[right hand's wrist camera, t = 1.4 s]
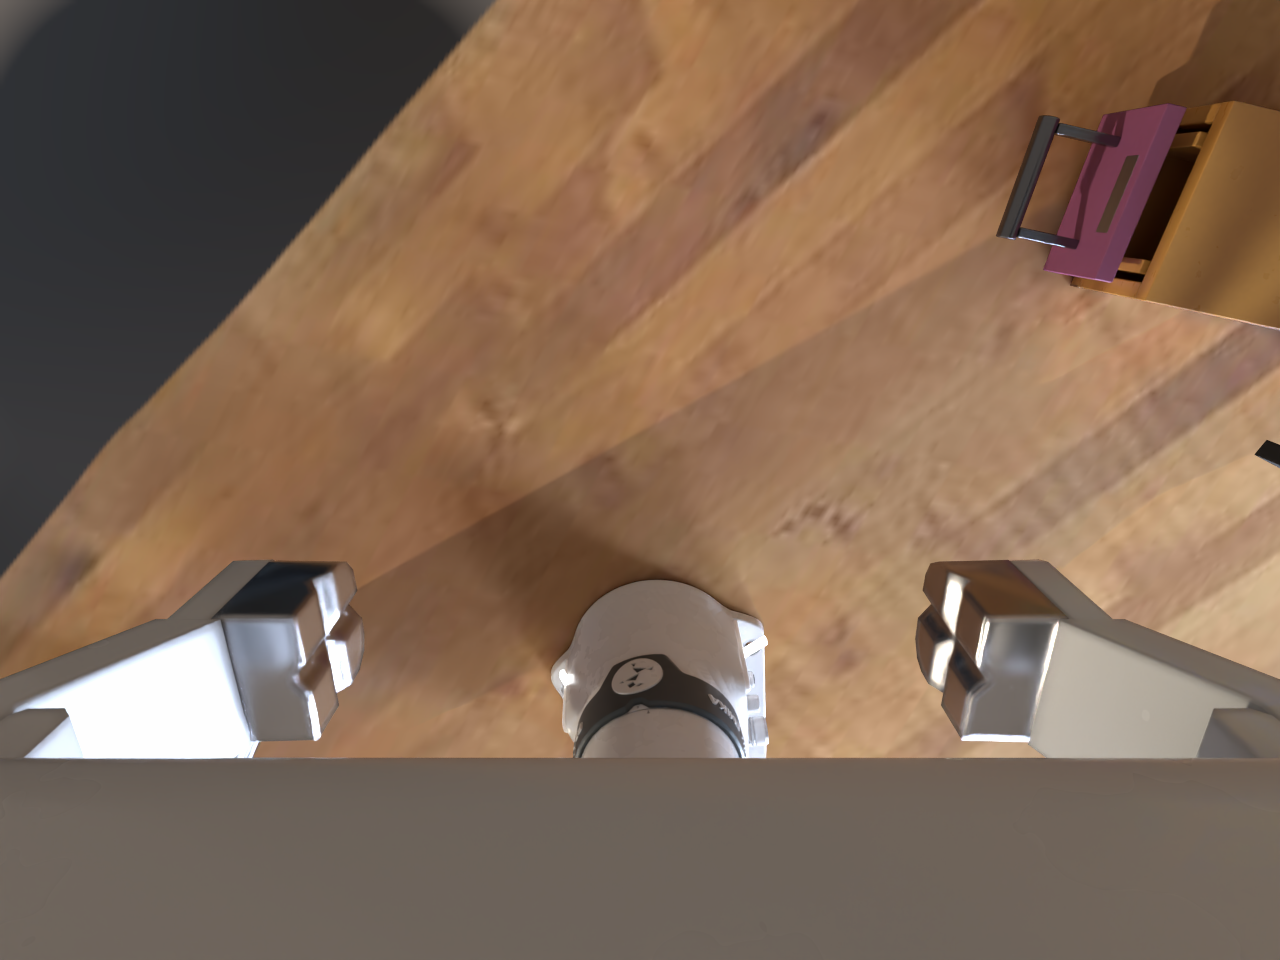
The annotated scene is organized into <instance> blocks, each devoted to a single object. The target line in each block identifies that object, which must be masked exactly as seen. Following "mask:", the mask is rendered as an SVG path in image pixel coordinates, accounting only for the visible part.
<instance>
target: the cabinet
mask: <svg viewBox="0 0 1280 960" xmlns="http://www.w3.org/2000/svg"><path fill="white" fill-rule="evenodd" d="M1200 131H1202V132H1207V133H1208V134H1207V137H1206V139H1205V141H1204V143H1203V146H1202V148H1201V150H1200V152H1199V155H1198V157H1197V159H1196V162H1195V164H1194V166H1193V168H1192V171H1191V173H1190V175H1189V177H1188V180H1187V182H1186V184H1185V186H1184V189H1183V191H1182V193H1181V195H1180V198H1179V200H1178V202H1177V205H1176V207H1175V209H1174V211H1173V214H1172V216H1171V218H1170V220H1169V223H1168V225H1167V227H1166V229H1165V232H1164V234H1163V236H1162V238H1161V241H1160V243H1159V245H1158V247H1157V250H1156V252H1155V254H1154V257H1153V259H1152V261H1151V263H1150V266H1149V268H1148V270H1147V272H1146V275H1145V277H1141V276H1137V275H1132V274H1128V273H1123V272H1118V271H1117V273H1116V275H1115V277H1114V280H1113V282H1112V283H1109V282H1103V281H1098V280H1092V279H1087V278H1081V277H1076V276H1074V278H1073V281H1072V283H1071V284H1070V286H1075V287H1079V288H1084V289H1089V290H1093V291H1098V292H1103V293H1107V294H1112V295H1117V296H1122V297H1126V298H1131V299H1136V300H1140V301H1145V302H1150V303H1154V304H1159V305H1164V306H1169V307H1173V308H1178V309H1183V310H1187V311H1192V312H1197V313H1202V314H1206V315H1211V316H1216V317H1220V318H1225V319H1230V320H1234V321H1239V322H1244V323H1249V324H1253V325H1258V326H1263V327H1267V328H1272V329H1277V330H1280V111H1278V110H1274V109H1270V108H1266V107H1261V106H1257V105H1253V104H1249V103H1244V102H1240V101H1236V100H1234V101H1228V102H1222V103H1216V104H1210V105H1204V106H1198V107H1192V108H1187V109H1186V111H1185V114H1184V116H1183V118H1182V121H1181V123H1180V125H1179V128H1178V130H1177V132H1176V134H1183V133H1191V132H1200Z"/></svg>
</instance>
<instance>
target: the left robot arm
mask: <svg viewBox="0 0 1280 960" xmlns="http://www.w3.org/2000/svg"><path fill="white" fill-rule="evenodd" d="M1255 455H1256V456H1258V457H1260V458H1262V459H1264V460H1265V461H1267V462H1269V463H1271V464H1273V465H1275V466H1277V467H1279V468H1280V445H1279V444H1276V443H1274V442H1271V441H1268V440H1266V441H1265V443H1264V444H1263V445H1262V446H1261V447H1260V449H1259V450H1258V451H1257V452H1256V453H1255Z"/></svg>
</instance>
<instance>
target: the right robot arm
mask: <svg viewBox="0 0 1280 960" xmlns="http://www.w3.org/2000/svg"><path fill="white" fill-rule="evenodd" d="M356 592H357V586H356V581H355V577H354V572H353V569H352V568H351V566H350V565H349V564H348V563H347V562H338V561H282V560H278V561H275V560H243V561H233V562H232V563H231V564H229V565H228V566H227V567H226V568H225V569H224V570H223V571H221V572H220V573H219V574H218V575H217V576H216V577H215V578H213V579H212V580H211V581H210V582H209V583H208V584H207V585H206V586H204V587H203V588H202V589H201V590H200V591H199V592H198V593H196V594H195V595H194V596H193V597H192V598H191V599H190V600H188V601H187V602H186V603H185V604H184V605H183V606H182V607H181V608H179V609H178V610H177V611H176V612H175V613H174V614H173V615H171V616H170V617H169V618H168V619H155V620H152V621H150V622H147V623H144V624H142V625H139V626H137V627H134V628H132V629H129V630H126V631H124V632H121V633H119V634H116V635H113V636H111V637H108V638H106V639H103V640H101V641H98V642H95V643H93V644H90V645H88V646H85V647H82V648H80V649H77V650H75V651H72V652H70V653H67V654H64V655H62V656H59V657H57V658H54V659H51V660H49V661H46V662H44V663H41V664H39V665H36V666H33V667H31V668H28V669H26V670H23V671H20V672H18V673H15V674H13V675H10V676H8V677H5V678H2V679H0V960H1280V679H1277V678H1275V677H1272V676H1269V675H1267V674H1264V673H1262V672H1259V671H1257V670H1254V669H1251V668H1249V667H1246V666H1244V665H1241V664H1239V663H1236V662H1233V661H1231V660H1228V659H1226V658H1223V657H1221V656H1218V655H1215V654H1213V653H1210V652H1208V651H1205V650H1203V649H1200V648H1197V647H1195V646H1192V645H1190V644H1187V643H1184V642H1182V641H1179V640H1177V639H1174V638H1172V637H1169V636H1166V635H1164V634H1161V633H1159V632H1156V631H1154V630H1151V629H1148V628H1146V627H1143V626H1141V625H1138V624H1136V623H1133V622H1130V621H1128V620H1125V619H1112V618H1111V617H1110V616H1109V615H1107V614H1106V613H1105V612H1104V611H1103V610H1102V609H1101V608H1100V607H1098V606H1097V605H1096V604H1095V603H1094V602H1093V601H1092V600H1091V599H1089V598H1088V597H1087V596H1086V595H1085V594H1084V593H1083V592H1081V591H1080V590H1079V589H1078V588H1077V587H1076V586H1075V585H1074V584H1072V583H1071V582H1070V581H1069V580H1068V579H1067V578H1066V577H1064V576H1063V575H1062V574H1061V573H1060V572H1059V571H1058V570H1057V569H1055V568H1054V567H1053V566H1052V565H1051V564H1050V563H1049V562H1046V561H1042V560H1039V559H1036V560H1014V561H1009V560H988V561H946V562H935V563H931V564H930V566H929V568H928V570H927V572H926V575H925V580H924V586H923V592H924V593H925V595H926V596H927V598H928V600H929V601H930V603H931V605H930V606H929V607H928V608H927V609H926V610H925V611H924V612H923V613H922V614H921V615H920V616H919V617H918V622H917V630H916V638H915V640H916V651H917V659H918V662H919V665H920V669H921V672H922V673H923V675H924V677H925V679H926V680H927V682H928V684H930V685H931V686H933V687H935V688H936V689H938V690H940V691H941V692H943V698H942V703H941V706H942V708H943V709H944V711H945V713H946V714H947V716H948V718H949V719H950V721H951V723H952V724H953V726H954V728H955V729H956V731H957V732H958V734H959V736H960V737H961V739H962V740H986V741H1023V742H1029V743H1028V745H1030V746H1031V747H1032V748H1034V749H1035V750H1037V751H1038V752H1039V753H1041V754H1042V755H1043V756H1045V757H1046V758H765V757H766V745H767V744H769V740H768V730H767V724H766V718H765V668H764V646H765V645H767V644H768V643H767V639H766V637H765V636H764V631H763V625H762V623H761V622H760V621H759V620H758V619H756V618H754V617H752V616H749V615H746V614H743V613H739V612H736V611H732V610H729V609H728V608H726V607H724V606H723V605H721V604H720V603H719V602H718V601H716V600H715V599H714V598H712V597H711V596H710V595H708V594H707V593H705V592H703V591H701V590H699V589H697V588H695V587H693V586H690V585H687V584H684V583H680V582H675V581H669V580H645V581H638V582H634V583H630V584H627V585H624V586H621V587H619V588H616V589H614V590H612V591H610V592H609V593H607V594H605V595H604V596H603V597H601V598H600V599H599V600H597V601H596V602H595V603H594V604H593V605H592V606H591V607H590V608H589V609H588V610H587V612H586V613H585V614H584V616H583V617H582V619H581V621H580V622H579V624H578V627H577V629H576V632H575V635H574V638H573V641H572V643H571V646H570V647H569V649H568V650H567V651H566V652H565V653H564V654H563V655H562V656H561V657H560V658H559V659H558V660H557V661H556V663H555V664H554V665H553V667H552V670H551V681H552V683H553V685H554V687H555V688H556V689H557V691H558V692H559V694H560V695H561V697H562V698H563V718H562V725H563V729H564V732H566V733H569V735H570V737H571V739H572V740H573V742H574V750H573V758H234V757H236V756H237V755H238V754H240V753H241V752H242V751H244V750H245V749H246V748H248V747H249V746H251V744H252V743H251V742H256V741H292V740H318V739H319V738H320V736H321V734H322V733H323V731H324V729H325V728H326V726H327V724H328V723H329V721H330V719H331V718H332V716H333V714H334V713H335V711H336V709H337V708H338V706H339V703H338V698H337V692H339V691H340V690H342V689H344V688H345V687H347V686H349V685H350V684H352V682H353V680H354V679H355V677H356V675H357V673H358V671H359V670H360V665H361V661H362V657H363V653H364V628H363V622H362V617H361V616H360V615H359V614H358V613H357V612H356V611H355V610H354V609H353V608H352V607H351V606H350V605H349V603H350V601H351V600H352V598H353V596H354V595H355V593H356ZM747 642H753V643H751V644H749V645H746V643H747Z"/></svg>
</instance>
